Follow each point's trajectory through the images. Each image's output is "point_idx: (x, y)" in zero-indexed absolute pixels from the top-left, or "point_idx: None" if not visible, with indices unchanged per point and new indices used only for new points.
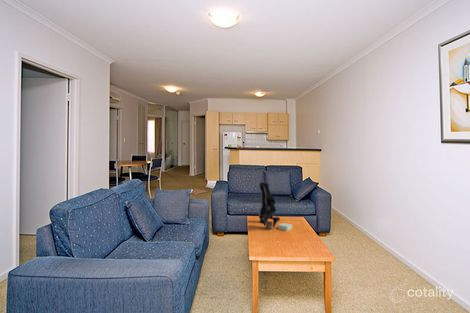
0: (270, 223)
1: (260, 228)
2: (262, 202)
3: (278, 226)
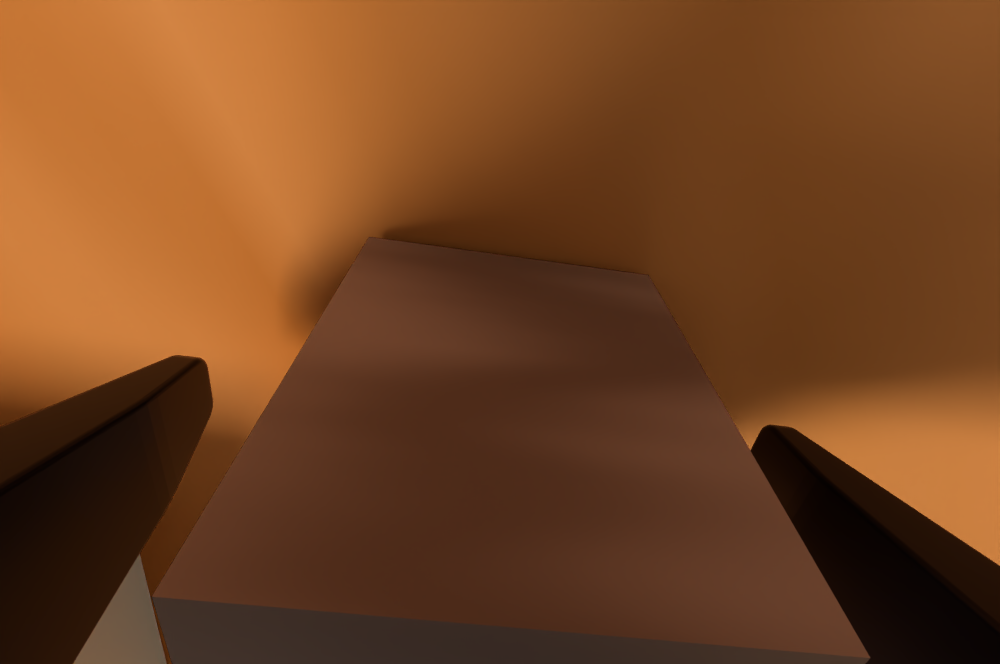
0: (215, 551)
1: (961, 159)
2: None
3: None
